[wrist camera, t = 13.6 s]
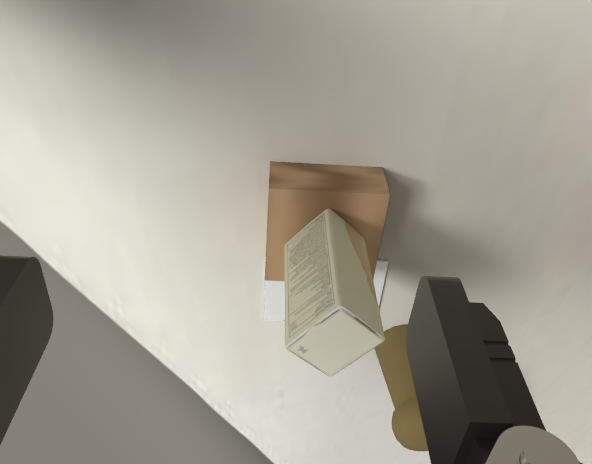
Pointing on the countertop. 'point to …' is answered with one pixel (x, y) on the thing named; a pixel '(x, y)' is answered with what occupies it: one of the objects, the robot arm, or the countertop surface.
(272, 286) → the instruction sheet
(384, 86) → the countertop surface
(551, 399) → the countertop surface
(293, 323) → the box
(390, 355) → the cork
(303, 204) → the base brick
